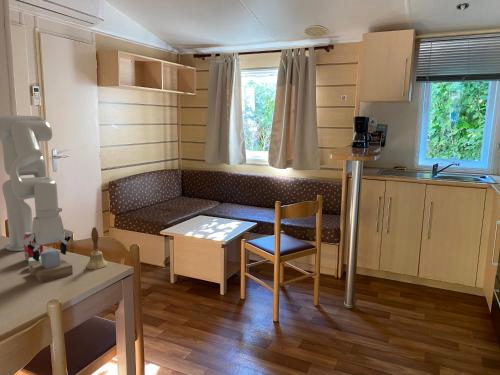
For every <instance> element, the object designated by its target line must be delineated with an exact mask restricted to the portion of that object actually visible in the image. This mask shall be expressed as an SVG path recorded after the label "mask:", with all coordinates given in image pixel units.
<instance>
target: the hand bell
mask: <svg viewBox="0 0 500 375" xmlns="http://www.w3.org/2000/svg"><path fill="white" fill-rule="evenodd" d="M90 238H91V240H92V243H93V244H92V245H93V251H92V252H91V253H90V256H89V260H88V262H87V263H86V265H85V268H86V267H87V269H88V268H89V269H88V270H99V269H98V268H100V269H103V267H104V268H106V267H107V266H108V261H107V260H106V259H105V258H104V256H103V252H102V251H100V250H99V244H98V243H99V242H98V241H99V233H98V230H97V227H95V226H93V227H92V229H91V237H90ZM105 266H106V267H105Z"/></svg>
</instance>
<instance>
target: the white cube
mask: <svg viewBox="0 0 500 375" xmlns="http://www.w3.org/2000/svg"><path fill="white" fill-rule="evenodd" d="M27 262H28V271H30V272H31V270H30V265H33V264H37V263H41V256H40V257H39V261H36V260H34V259H33V257H32V258H29V261H27Z"/></svg>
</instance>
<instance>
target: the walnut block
mask: <svg viewBox="0 0 500 375" xmlns="http://www.w3.org/2000/svg"><path fill="white" fill-rule="evenodd" d="M30 270H31V271H30V275H31V276H33V277H34V278H35V279H37V280H38V281H39V282H40V283H46V282H50V281H52V280H55V279H56V280H57V279H60V278H63V276H64V277H66V275H67V276H70V274H71V275H73V274H74V272H73V264H71V263H70V262H67V261H66V260H64V259H63V258H61V257H60V265H59V266H55V267H51V268H47V269H46V268H45V267H44V266H42V264H41V263H37V264H33V265H30Z"/></svg>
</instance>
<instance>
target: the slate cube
mask: <svg viewBox="0 0 500 375" xmlns="http://www.w3.org/2000/svg"><path fill="white" fill-rule="evenodd" d="M60 258H61V256H60V251H58V250H56V249H51V250H46V251H45V250H44V252H41V264H42V266H44V267H45V268H46V269H47V268H51V267H55V266H59V265H60Z"/></svg>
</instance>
